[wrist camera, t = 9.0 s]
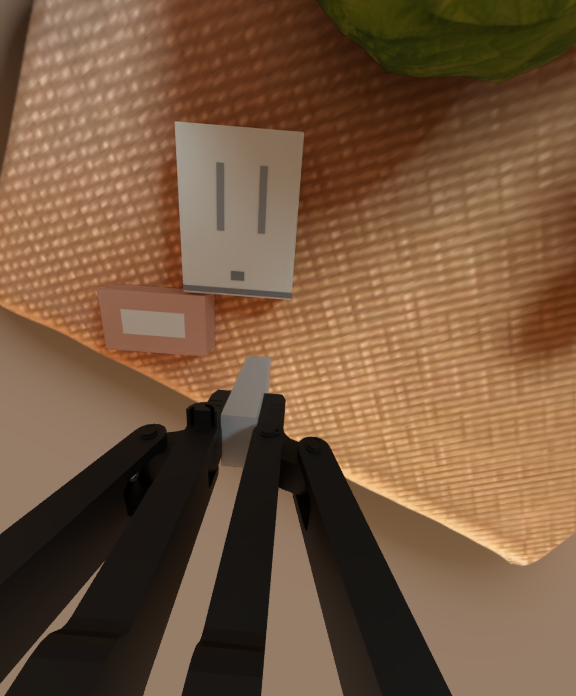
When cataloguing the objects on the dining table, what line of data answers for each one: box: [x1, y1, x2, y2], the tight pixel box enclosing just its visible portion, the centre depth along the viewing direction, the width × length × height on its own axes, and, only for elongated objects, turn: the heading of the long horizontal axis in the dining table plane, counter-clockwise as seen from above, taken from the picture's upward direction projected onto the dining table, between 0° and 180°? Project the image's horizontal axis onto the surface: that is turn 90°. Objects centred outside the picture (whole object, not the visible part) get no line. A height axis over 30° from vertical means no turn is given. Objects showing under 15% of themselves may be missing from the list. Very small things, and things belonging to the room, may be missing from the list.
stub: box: [97, 284, 215, 356], centre depth 28 cm, size 6×10×4 cm, turn 86°
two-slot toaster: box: [175, 121, 304, 300], centre depth 25 cm, size 13×10×4 cm
